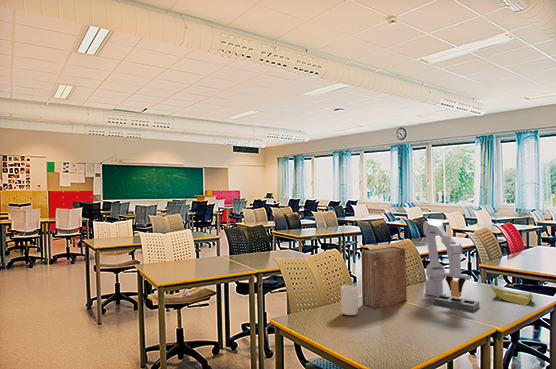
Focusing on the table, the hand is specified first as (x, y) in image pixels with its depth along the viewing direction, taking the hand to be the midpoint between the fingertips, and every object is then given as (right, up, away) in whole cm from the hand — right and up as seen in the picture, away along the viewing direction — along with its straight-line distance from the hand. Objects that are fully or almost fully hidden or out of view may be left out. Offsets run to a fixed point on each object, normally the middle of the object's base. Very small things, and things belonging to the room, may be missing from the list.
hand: (455, 291), depth 198 cm
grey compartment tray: (0, -8, 0) cm, 8 cm away
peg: (0, -3, 0) cm, 3 cm away
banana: (+35, -8, +8) cm, 37 cm away
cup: (-60, -9, -11) cm, 62 cm away
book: (-37, -9, +7) cm, 38 cm away
